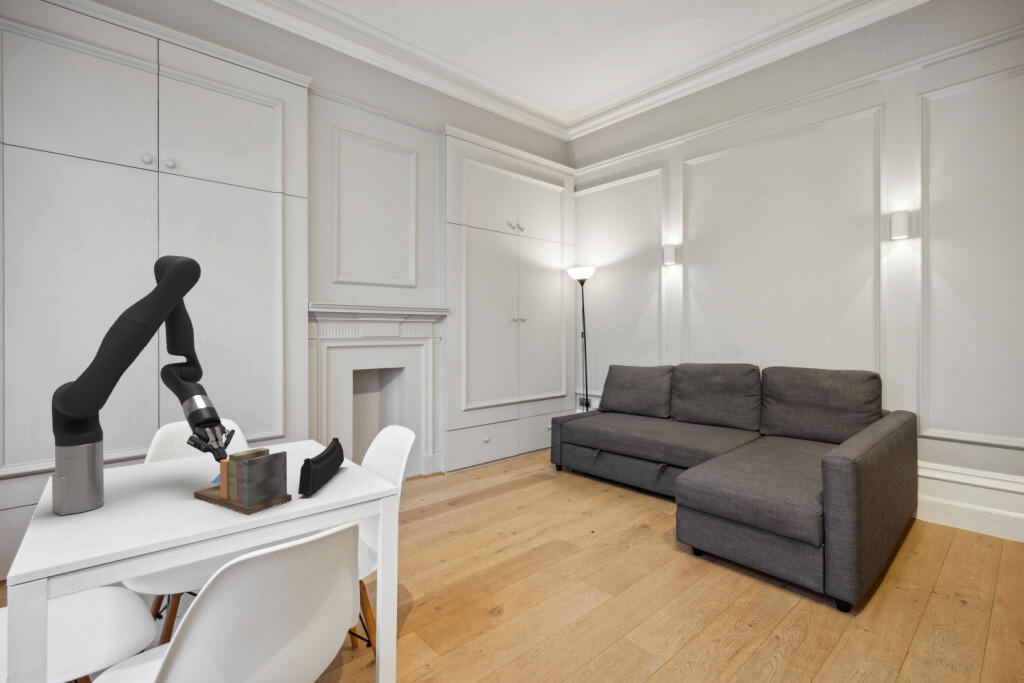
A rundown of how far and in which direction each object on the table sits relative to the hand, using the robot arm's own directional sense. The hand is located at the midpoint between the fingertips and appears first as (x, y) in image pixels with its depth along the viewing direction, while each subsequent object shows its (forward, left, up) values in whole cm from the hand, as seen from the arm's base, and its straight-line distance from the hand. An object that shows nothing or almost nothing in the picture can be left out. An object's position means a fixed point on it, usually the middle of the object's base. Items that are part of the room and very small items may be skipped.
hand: (223, 460), depth 132 cm
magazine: (+22, -15, -10) cm, 28 cm away
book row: (+1, -8, -10) cm, 13 cm away
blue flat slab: (+14, +16, -10) cm, 23 cm away
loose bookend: (+1, -8, -8) cm, 12 cm away
